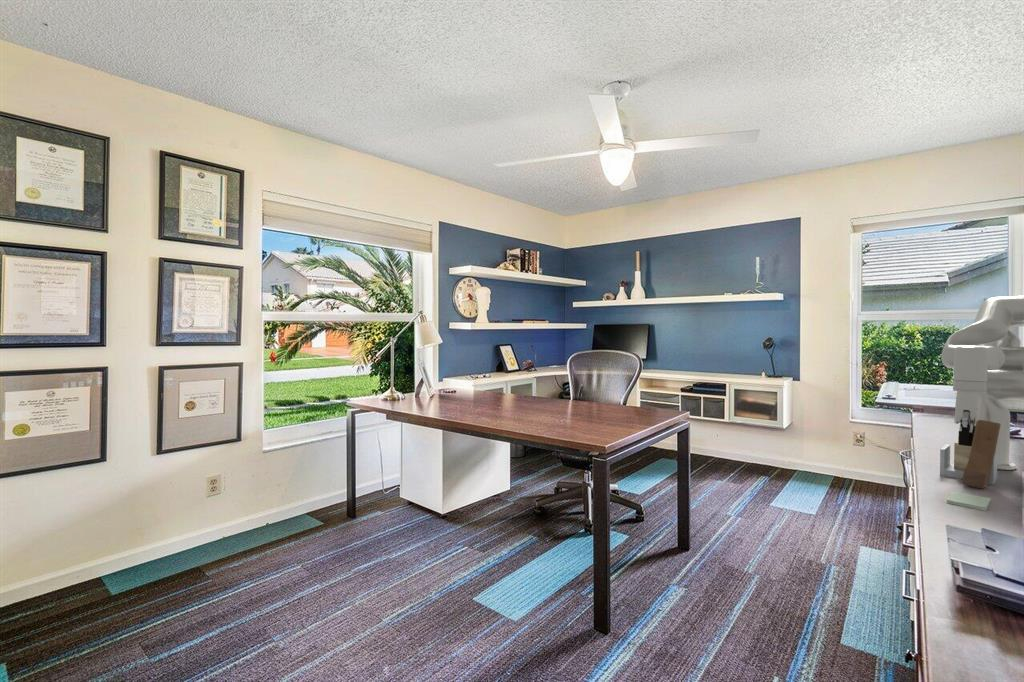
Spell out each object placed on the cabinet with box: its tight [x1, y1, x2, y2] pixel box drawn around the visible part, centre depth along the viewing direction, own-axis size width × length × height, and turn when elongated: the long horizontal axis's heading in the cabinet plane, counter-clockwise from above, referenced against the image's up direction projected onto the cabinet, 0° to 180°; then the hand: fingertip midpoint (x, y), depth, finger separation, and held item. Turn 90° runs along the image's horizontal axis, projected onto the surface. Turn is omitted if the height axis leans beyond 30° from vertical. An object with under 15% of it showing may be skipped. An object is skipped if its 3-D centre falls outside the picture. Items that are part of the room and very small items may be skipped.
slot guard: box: [939, 443, 998, 485], centre depth 146 cm, size 10×12×8 cm
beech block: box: [953, 440, 972, 470], centre depth 146 cm, size 4×6×8 cm, turn 41°
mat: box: [946, 491, 992, 512], centre depth 124 cm, size 10×7×1 cm
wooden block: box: [961, 420, 1001, 490], centre depth 137 cm, size 9×4×18 cm, turn 128°
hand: (968, 443), depth 146 cm, fingers open, 9 cm apart
